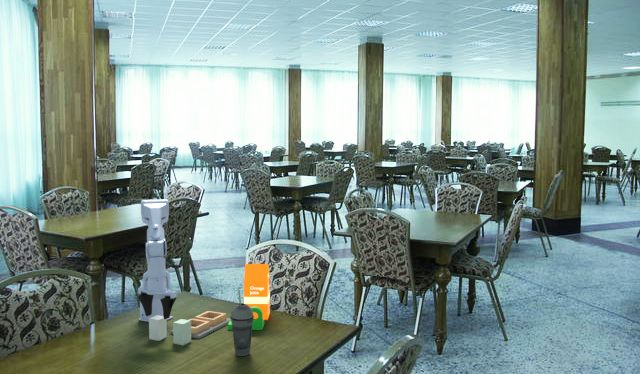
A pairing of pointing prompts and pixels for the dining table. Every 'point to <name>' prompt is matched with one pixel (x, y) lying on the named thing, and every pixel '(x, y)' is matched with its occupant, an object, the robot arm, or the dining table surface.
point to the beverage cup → (242, 327)
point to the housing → (207, 323)
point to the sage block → (182, 332)
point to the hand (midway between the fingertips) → (157, 316)
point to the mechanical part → (254, 320)
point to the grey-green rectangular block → (157, 328)
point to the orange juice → (257, 288)
